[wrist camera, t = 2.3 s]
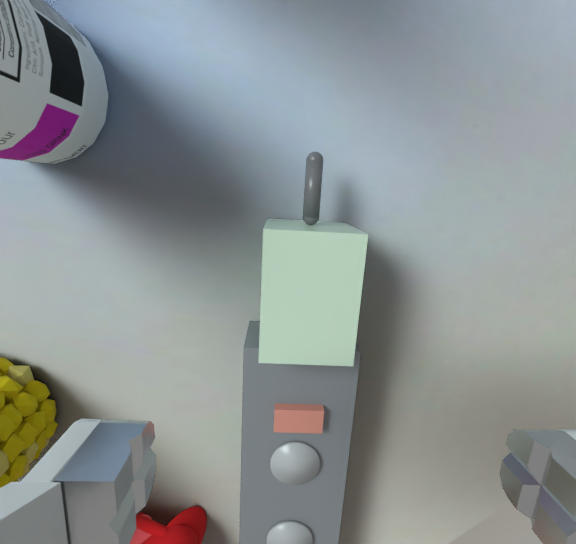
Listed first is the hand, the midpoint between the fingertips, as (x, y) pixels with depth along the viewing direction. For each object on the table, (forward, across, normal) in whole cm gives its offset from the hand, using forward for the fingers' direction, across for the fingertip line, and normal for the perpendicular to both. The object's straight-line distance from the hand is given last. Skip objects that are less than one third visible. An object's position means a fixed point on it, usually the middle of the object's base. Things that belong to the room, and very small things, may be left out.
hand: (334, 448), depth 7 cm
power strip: (+16, 0, +15) cm, 22 cm away
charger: (+15, 0, -1) cm, 15 cm away
